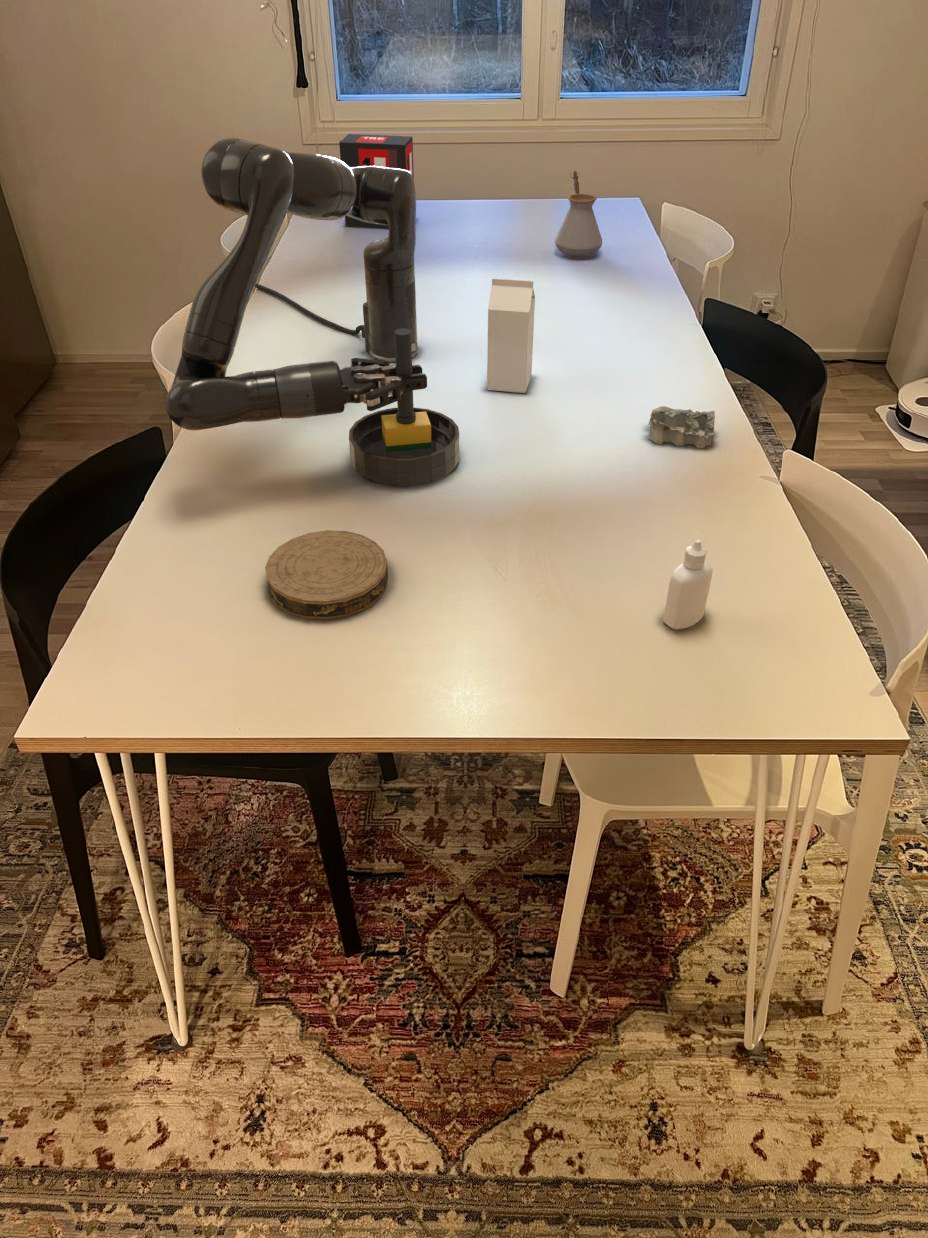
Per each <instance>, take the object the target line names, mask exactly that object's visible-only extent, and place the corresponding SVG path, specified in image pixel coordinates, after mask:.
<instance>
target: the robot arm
mask: <svg viewBox="0 0 928 1238" xmlns="http://www.w3.org/2000/svg"><path fill="white" fill-rule="evenodd" d="M200 169H201V170H200V171H201V172H200V175H201V179H202V180H201V181H202V184H203V185H202V186H203V187H204V190H205V192H206V193H207V195H208V196H209V198H210V199H211V200H212V201H213V202H214V203H215V204H216V205H217V206H219V207H221V208H223V209H224V210H228V211H231V212H233V213H238V214H241V215H244V216H247V217H246V221H245V224H244V227H243V230H242V232H241V234H240V236H239V239H238V240H237V242H236V244H235V245H234V246H233V247H232V249H231V250H230V251H229V253H228V254H227V255H226V256H225V257H224V259H223V260H222V261H221V262H220V263H219V264H218V265H217V267H215V268H214V270H213V271H212V272H211V273H210V274H209V275H208V276H207V277H206V278H205V280H204V281H203V282H202V284H201V285H200V287H198V289H197V291H196V292H195V295H194V297H193V300H192V302H191V307H190V310H189V314H188V318H187V321H186V325H185V329H184V333H183V338H182V343H181V344H182V345H181V356H180V359H179V362H178V365H177V367H176V371H175V374H174V379H173V381H172V384H171V388H170V389H169V390H168V392H167V394H166V398H165V409H166V412H167V415H168V417H169V419H170V420H171V421H172V422H173V423H174V424H175V425H176V426H177V427H179V428H182V429H183V430H186V431H203V430H210V429H216V428H220V427H225V426H229V425H236V424H240V423H258V422H266V421H274V420H281V419H304V418H312V417H320V416H327V415H335V414H342V413H343V412H344V411H345V407H346V406H345V405H346V404H350V403H351V404H361V403H363V404H364V405H366V411H369V412H375V411H377V410H379V409H381V408H384V407H387V406H389V405H391V404H394V403H396V402H397V401H399V400H401V394H402V393H403V391H411V390H413V391H419V390H425V389H426V388H428V376H427V374H426V373H425V372H423V367H422V365H421V364H412V374H411V375H402V376H396V364H390V363H391V362H395V363H396V356H395V330H397V329H401V328H405V329H409V330H411V341H412V359H413V358H414V357H416V356H417V354H418V353H419V346H418V325H417V323H418V322H417V298H416V297H417V296H416V295H417V293H416V271H415V269H416V267H415V252H416V251H415V250H416V241H417V187H416V182H415V178H414V179H413V177H412V175H411V173H410V172H408V171H406V170H402V169H394V168H385V167H376V166H363V167H353V168H349V167H348V166H347V165H346V164H345V163H344V162H342V161H341V159H338V158H336V157H333V156H327V155H323V154H318V153H309V152H307V153H305V152H295V151H294V152H293V151H284V150H282V149H280V148H277V147H274V146H270V145H266V144H262V143H258V142H255V141H250V140H246V139H243V138H239V137H225V138H221V139H220V140H217V141H216V142H214V143H213V144H212V145H211V146H210V148H208V150H207V151H206V153H205V155H204V157H203V160H202V162H201V168H200ZM287 214H290V215H293V216H297V217H300V218H305V219H310V220H314V221H315V220H316V221H317V220H318V221H337V220H340V219H343V218H345V216H349V217H352V218H355V219H357V220H360V221H363V222H367V223H372V224H380V225H388V226H389V229H388V236H387V237H385V238H381V239H377V240H374V241H372V242H370V243H367V244H366V245H365V247H364V248H363V266H364V267H363V268H364V281H365V294H366V297H365V299H366V301H365V302H363V304H362V315H363V324H360V325H357V326H356V327H355V329H349V328H347V327H344V326H342V325H340V324H337V323H335V322H332V321H330V320H328V319H325V318H324V317H321V316H319V315H317V314H316V313H314V312H313V311H310V310H309V309H307V308H305V307H303V306H302V305H300V304H299V303H297V302H296V301H294V300H293V299H291V298H289V297H287V296H286V295H284V294H282V293H280V292H279V291H276V290H274V289H272V288H269V287H267V286H265V285H262V284H259V283H257V280H258V278H259V277H260V274H261V272H262V270H263V269H264V266H265V264H266V262H267V259H268V257H269V255H270V252H271V251H272V248H273V245H274V243H275V241H276V239H277V236H278V234H279V232H280V229H281V227H282V225H283V222H284V221H285V218H286V215H287ZM254 288H256V289H258V290H260V291H263V292H264V293H265V292H266V293H268V294H270V295H273V296H274V297H276V298H278V299H280V300H282V301H283V302H285V303H287V304H288V305H290V306H292V307H293V308H295V309H296V310H298V311H300V312H301V313H303V314H304V315H306V316H308V317H310V318H312V319H313V320H315V321H317V322H319V323H321V324H323V325H325V326H328V327H330V328H333V329H334V330H337V331H339V332H342V333H344V334H347V335H352V336H358V335H359V334H360V333H361V338H362V339H364V344H365V353H367V354H369V355H370V356H371V357H372V358H362V357H353V358H351V359H350V366H347V367H344V368H341V369H340V366H339V363H338V362H337V361H336V360H324V361H316V362H308V363H300V364H299V363H298V364H290V365H286V366H282V367H278V368H274V369H272V368H271V369H263V370H255V371H249V372H248V371H247V372H243V373H239V374H237V375H228V376H227V375H226V374H227V370H228V367H229V365H230V363H231V361H232V358H233V356H234V352H235V348H236V345H237V342H238V338H239V335H240V331H241V327H242V323H243V319H244V316H245V312H246V310H247V307H248V304H249V301H250V298H251V295H252V292H253V290H254Z"/></svg>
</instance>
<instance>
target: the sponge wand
mask: <svg viewBox="0 0 928 1238" xmlns="http://www.w3.org/2000/svg"><path fill="white" fill-rule="evenodd" d="M395 356H396V362H395V366H396V376H402V375H411V374H412V365H413V358H412V341H411V330H409V329H405V328H401V329H397V330H395ZM396 402H397V408H398V412H397V413H396V414H391V415H382V416H381V417H382V436H383V441H384V445H385V449H386V452H394V451H405V450H416V449H426V448H431V424H430V421H429V418H428V415H427V413H426V411H425V412H414V408H415V407H414V390H411V391H403V393H402V394H401V400H399V401H396ZM413 407H414V408H413Z"/></svg>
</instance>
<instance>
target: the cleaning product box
mask: <svg viewBox="0 0 928 1238" xmlns="http://www.w3.org/2000/svg"><path fill="white" fill-rule="evenodd" d="M413 139H414V138H413V136H409V135H407V136H406V135H383V134H382V135H381V134H361V133H358V134H357V133H348V134H347V135H346V136H345V137H344V138H342V139H341V140H340V141H338V142H339V144H338V145H339V156H340V157H339V158H340V161H342V162H344V163H345V164H346V165H347V166H348V167H349V168H353V167H363V166H376V167H385V168H394V169H402V170H406V171H408V172H410V173H411V175H412V177H413V179H414V180H415V176H414V173H415V172H414V144H413V143H414V142H413V141H414V140H413ZM344 220H345V221H344V222H345V223H344V224H345V228H362V229H363V228H364V229H385V230H389V226H388V225H380V224H372V223H367V222H363V221H360V220H357V219H355V218H352V217H349V216H344Z"/></svg>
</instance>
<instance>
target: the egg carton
mask: <svg viewBox="0 0 928 1238" xmlns="http://www.w3.org/2000/svg"><path fill="white" fill-rule="evenodd" d="M715 420H716V413H715V410H711V411H702V412H701V411H698V410H696V411H693V410H692V409H691V408H690V409H680V408H675V409H674V408H671V407H668V406H659V407H656V408H654V409H652V410H651V413H650V418H649V420H648V424H647V425H648V426H649V428H648V429H649V432H648V439H647V440H649V441H652V442H654V444H656V445H657V444H658V445H662V444H663V443H673V444H674V445H675V446H677V447H678V446H680V447H681V446H682V447H683V446H684V445H693V446H695V447H696V448H697V449H704V448H705V447H709V446H711V445H712V440H713V436H714V435H715V423H716V422H715Z"/></svg>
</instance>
